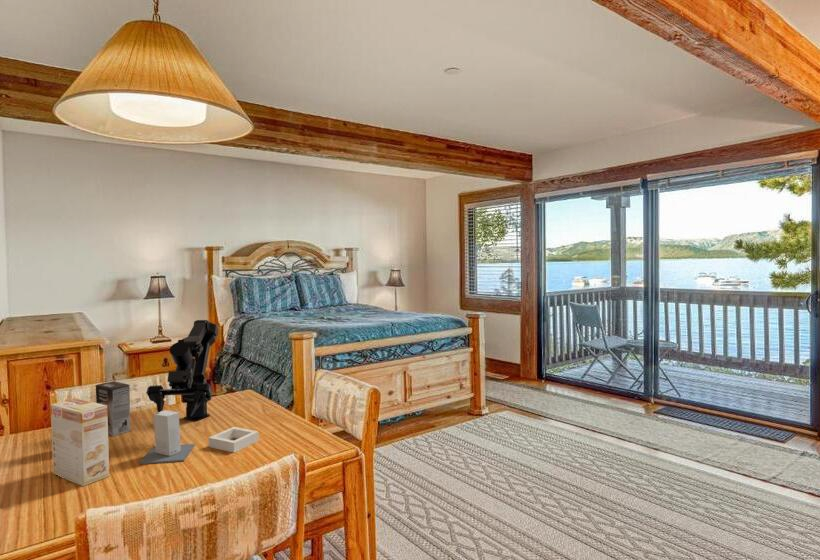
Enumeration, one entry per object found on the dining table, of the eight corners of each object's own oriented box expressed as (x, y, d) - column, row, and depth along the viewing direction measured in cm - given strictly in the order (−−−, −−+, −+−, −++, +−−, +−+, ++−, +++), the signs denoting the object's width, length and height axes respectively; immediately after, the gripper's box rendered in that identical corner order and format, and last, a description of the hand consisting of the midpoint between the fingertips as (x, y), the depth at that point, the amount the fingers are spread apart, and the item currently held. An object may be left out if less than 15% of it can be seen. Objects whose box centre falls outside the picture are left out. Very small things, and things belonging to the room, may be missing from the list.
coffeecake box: (110, 476, 131) (108, 404, 130) (82, 487, 124) (79, 412, 123) (80, 464, 138) (77, 397, 137) (51, 474, 131) (49, 403, 130)
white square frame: (234, 435, 160) (233, 426, 160) (258, 440, 155) (258, 431, 155) (208, 447, 150) (208, 437, 150) (234, 452, 146) (234, 443, 146)
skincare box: (181, 451, 146) (180, 411, 145) (168, 457, 142) (167, 416, 141) (166, 448, 148) (165, 409, 148) (153, 453, 144) (152, 413, 143)
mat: (153, 448, 150) (153, 446, 150) (194, 445, 152) (194, 443, 152) (138, 464, 138) (138, 462, 138) (183, 461, 140) (183, 459, 140)
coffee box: (96, 432, 163) (94, 384, 162) (115, 426, 169) (113, 380, 168) (112, 437, 159) (110, 388, 158) (131, 430, 164) (130, 383, 164)
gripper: (147, 360, 154) (135, 405, 144) (209, 358, 158) (201, 402, 147) (156, 379, 163) (145, 422, 152) (215, 376, 166) (208, 419, 156)
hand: (175, 416), depth 152 cm, fingers open, 9 cm apart
